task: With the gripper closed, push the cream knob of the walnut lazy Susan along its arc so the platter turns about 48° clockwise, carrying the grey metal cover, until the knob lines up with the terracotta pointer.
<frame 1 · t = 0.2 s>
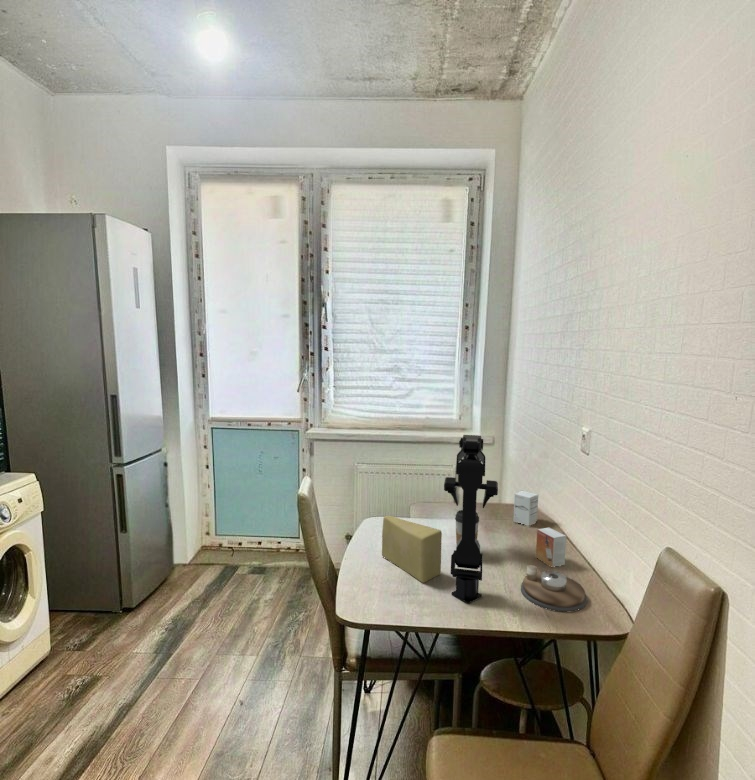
hand: (470, 506, 162), 15 cm above the table, tool pointing down, fingers open, 9 cm apart
small box: (550, 562, 152), on the table
supplement box: (525, 523, 188), on the table
coffee cup: (466, 555, 157), on the table
turntable base: (552, 594, 131), on the table
lazy susan: (553, 582, 131), point 4 cm above the table, hinge at 0.0°, touching cast cover
cast cover: (553, 586, 131), point 3 cm above the table, touching lazy susan
cheese: (406, 567, 147), on the table
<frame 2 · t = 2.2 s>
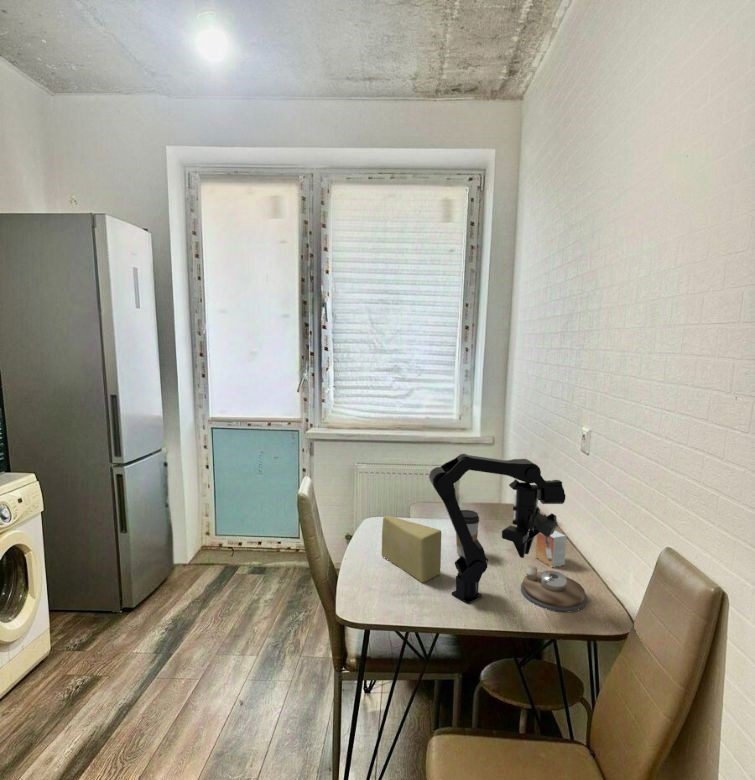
hand: (524, 555, 130), 12 cm above the table, tool pointing down, fingers open, 3 cm apart
nothing on the table moved.
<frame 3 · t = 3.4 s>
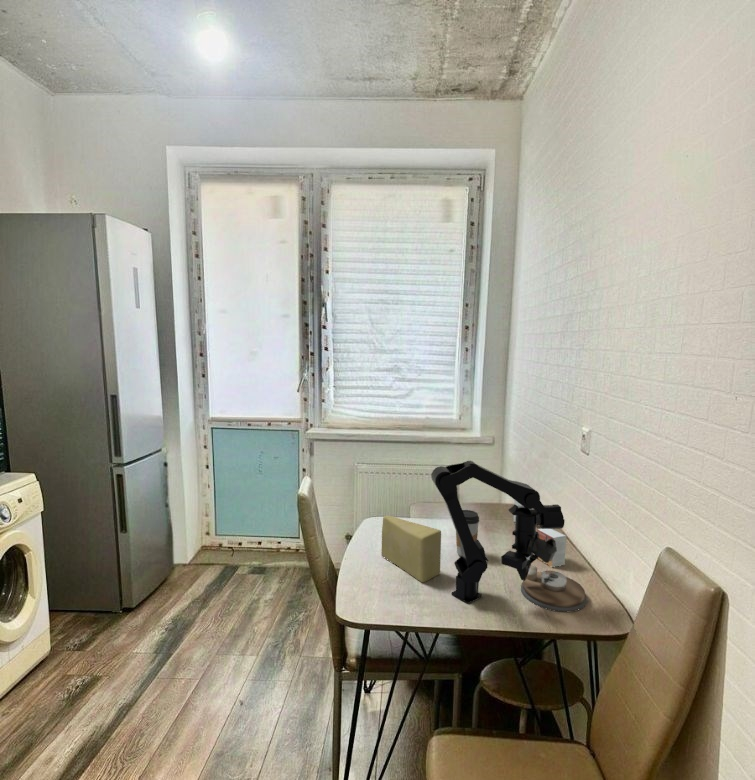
hand: (523, 580, 130), 5 cm above the table, tool pointing down, fingers closed
nothing on the table moved.
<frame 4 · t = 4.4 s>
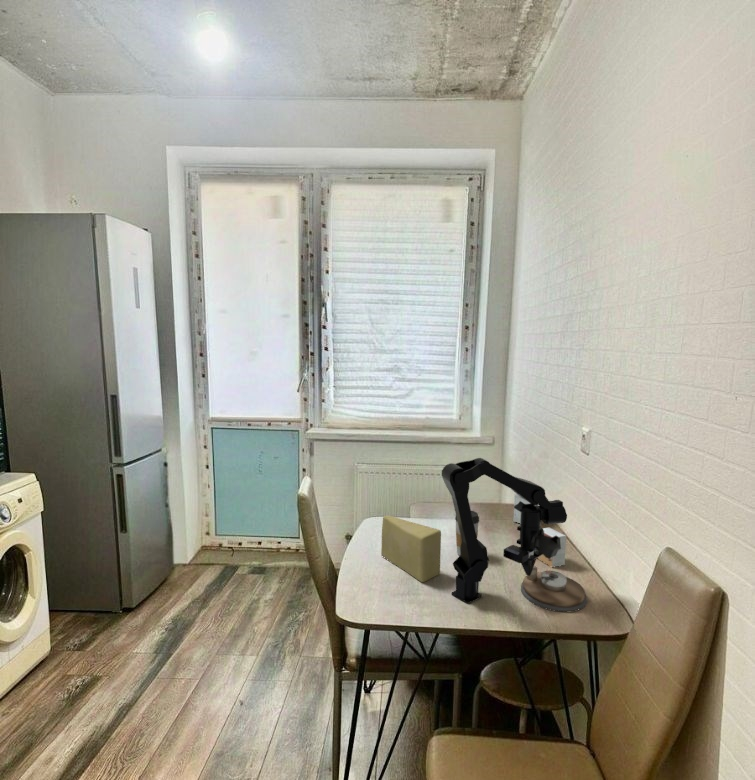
hand: (528, 575, 133), 5 cm above the table, tool pointing down, fingers closed
lazy susan: (553, 582, 131), point 4 cm above the table, hinge at -0.5°, touching cast cover, gripper
everything else where it was.
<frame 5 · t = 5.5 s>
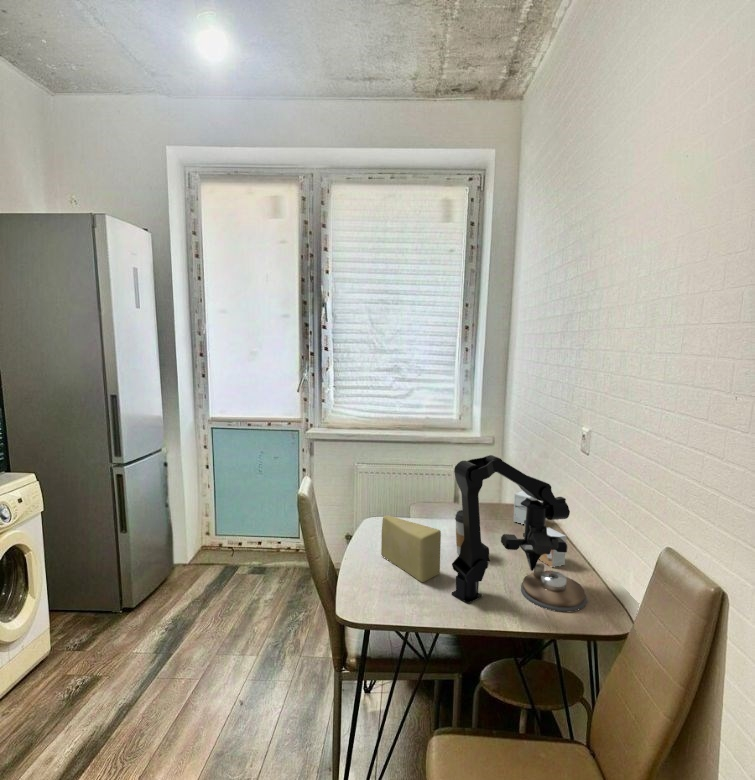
hand: (531, 570, 137), 5 cm above the table, tool pointing down, fingers closed
lazy susan: (553, 582, 131), point 4 cm above the table, hinge at -29.7°, touching cast cover, gripper
everything else where it was.
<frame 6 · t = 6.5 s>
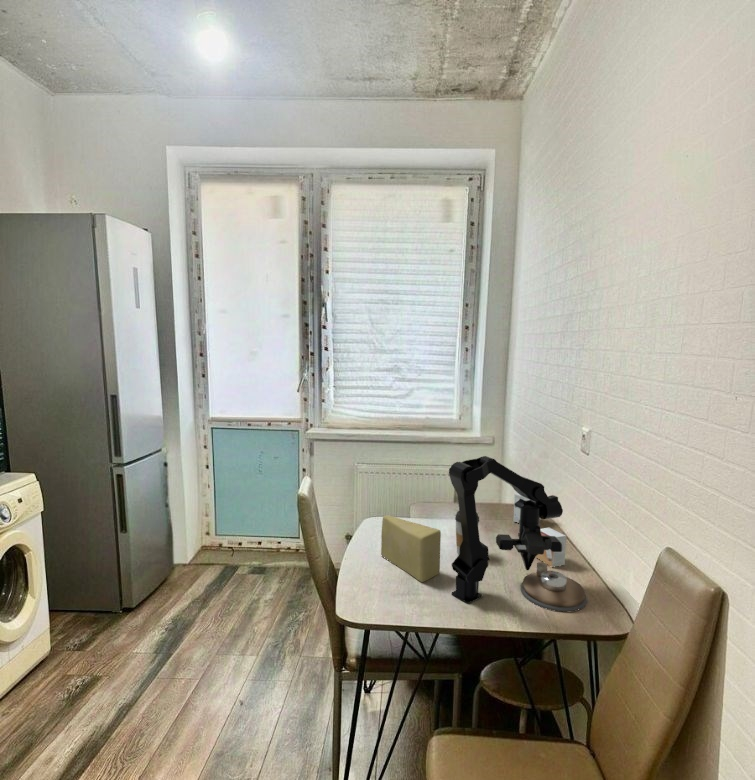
hand: (527, 569, 137), 4 cm above the table, tool pointing down, fingers closed
lazy susan: (553, 582, 131), point 4 cm above the table, hinge at -39.2°, touching cast cover
everything else where it was.
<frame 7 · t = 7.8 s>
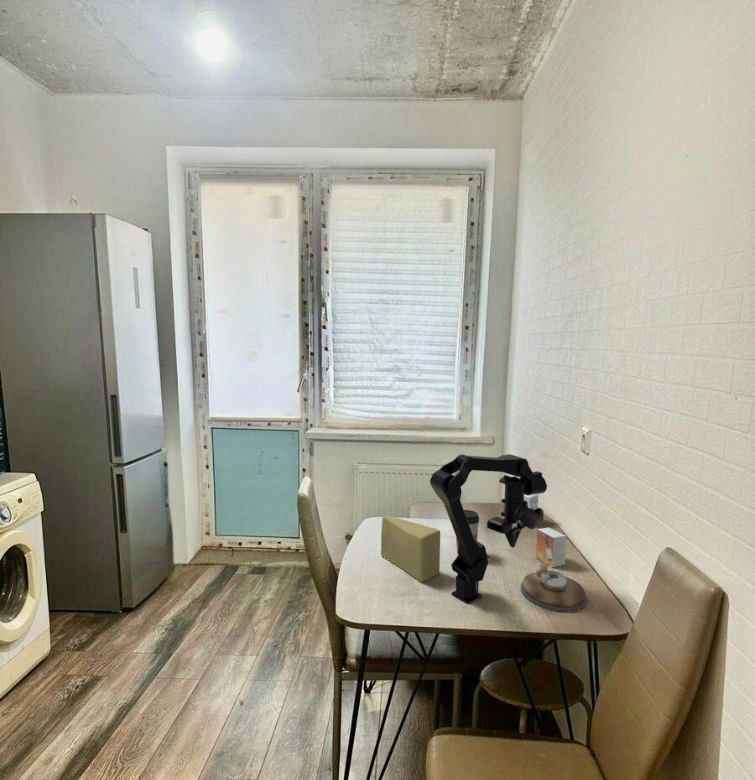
hand: (512, 546, 136), 12 cm above the table, tool pointing down, fingers closed
nothing on the table moved.
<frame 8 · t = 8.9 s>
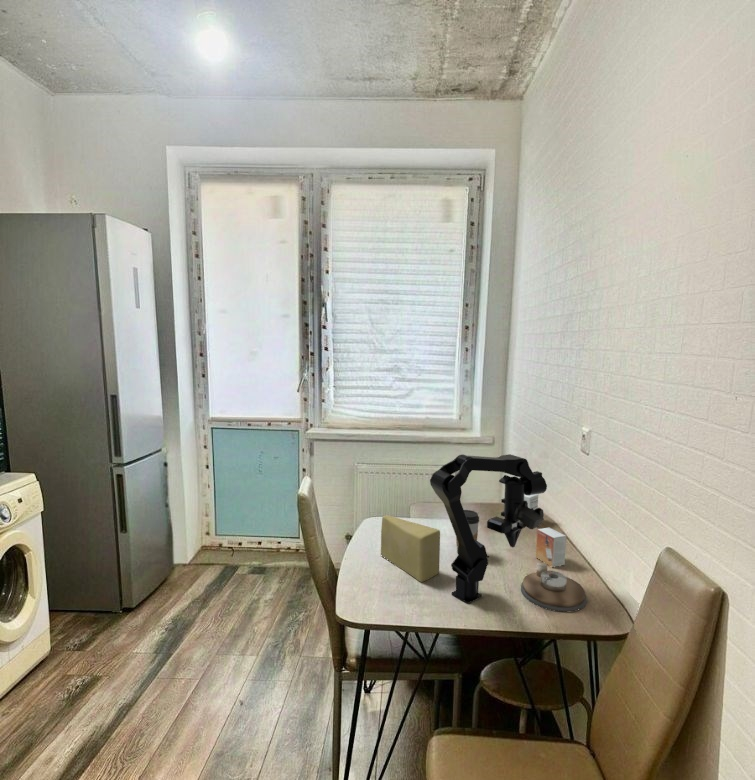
hand: (512, 546, 136), 12 cm above the table, tool pointing down, fingers closed
nothing on the table moved.
at the end: lazy susan at -39° (first picture: +0°); cast cover 0.0 cm off-centre on the lazy susan, point 2.6 cm above the lazy susan's base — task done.
